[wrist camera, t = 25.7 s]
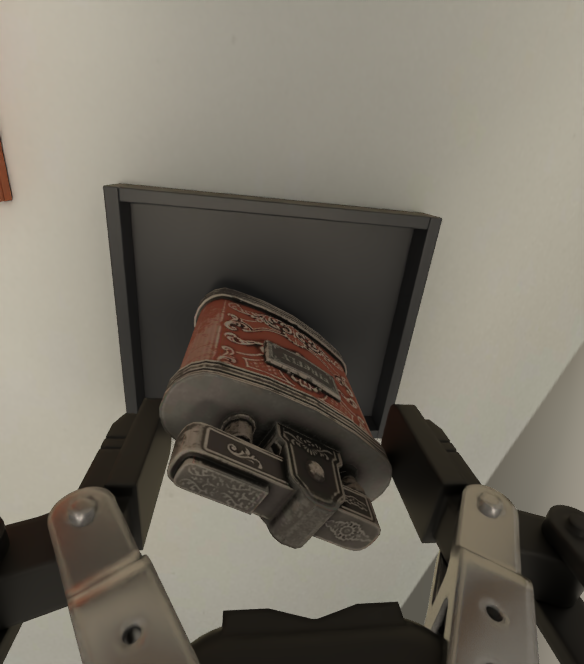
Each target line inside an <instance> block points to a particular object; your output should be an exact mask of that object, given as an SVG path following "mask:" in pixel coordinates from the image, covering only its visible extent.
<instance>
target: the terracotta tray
mask: <svg viewBox="0 0 584 664" xmlns="http://www.w3.org/2000/svg"><path fill="white" fill-rule="evenodd" d="M9 200H12V196H11V191H10V186H9V181H8V176H7V171H6V166H5V162H4V157H3V152H2V147H1V142H0V202H1V201H9Z"/></svg>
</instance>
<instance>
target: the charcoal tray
mask: <svg viewBox="0 0 584 664" xmlns="http://www.w3.org/2000/svg"><path fill="white" fill-rule="evenodd" d="M103 190H104V200H105V209H106V219H107V228H108V238H109V248H110V257H111V267H112V277H113V286H114V296H115V306H116V315H117V325H118V334H119V344H120V354H121V363H122V373H123V383H124V392H125V402H126V412H127V413H137V412H138V410H139V408H140V406H141V404H142V402H143V400H144V398H163V396H164V394H165V391H166V389H167V386H168V384H169V381H170V379H171V378H172V377H173V376H174V375H175V374H176V372H177V371H178V370H179V369H180V367H181V364H182V362H183V359H184V356H185V353H186V351H187V348H188V345H189V342H190V340H191V337H192V334H193V331H194V329H195V327H194V317H195V314H196V312H197V309H198V307H199V304H200V302H201V300H202V299H203V298H204V297H205V296H206V295H207V294H208V293H210V292H212V291H213V290H215V289H220V288H228V289H233V290H236V291H239V292H241V293H244V294H247V295H249V296H252V297H255V298H258V299H260V300H263V301H265V302H267V303H269V304H271V305H273V306H275V307H277V308H279V309H281V310H283V311H285V312H287V313H289V314H291V315H293V316H294V317H296V318H297V319H298V320H300V321H301V322H303V323H304V324H306V325H307V326H308V327H310V328H311V329H313V330H314V331H316V332H317V333H318V334H320V335H321V336H322V337H323V338H324V339H325V340H326V341H327V342H328V343H329V344H331V345H332V346H333V347H334V348H335V349H336V350H337V351H338V352H339V353H340V355H341V356H342V358H343V360H344V362H345V365H346V369H347V375H346V377H347V379H348V381H349V384H350V386H351V388H352V391H353V393H354V395H355V398H356V400H357V402H358V405H359V407H360V409H361V411H362V414H363V416H364V418H365V421H366V423H367V425H368V428H369V430H370V432H371V435H372V437H373V438H382V436H383V432H384V428H385V424H386V420H387V416H388V412H389V409H390V407H391V405H393V404H395V400H396V397H397V393H398V389H399V385H400V381H401V377H402V373H403V369H404V365H405V362H406V358H407V354H408V350H409V346H410V342H411V338H412V334H413V330H414V327H415V323H416V319H417V315H418V311H419V307H420V303H421V299H422V295H423V292H424V288H425V284H426V280H427V276H428V272H429V268H430V264H431V260H432V256H433V253H434V249H435V245H436V241H437V237H438V233H439V229H440V225H441V221H442V218H440V217H436V216H432V215H429V214H425V213H418V212H408V211H398V210H388V209H377V208H367V207H357V206H347V205H336V204H326V203H316V202H306V201H295V200H285V199H275V198H265V197H255V196H244V195H234V194H224V193H214V192H203V191H193V190H183V189H173V188H162V187H152V186H142V185H132V184H121V183H119V184H112V185H104V186H103Z"/></svg>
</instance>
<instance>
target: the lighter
mask: <svg viewBox="0 0 584 664" xmlns="http://www.w3.org/2000/svg"><path fill="white" fill-rule="evenodd" d="M194 327H195V329H194V331H193V334H192V337H191V340H190V342H189V345H188V348H187V351H186V353H185V356H184V359H183V362H182V364H181V367H180V369H179V370H178V371H177V372H176V374H175V375H174V376H173V377H172V378H171V379H170V381H169V384H168V386H167V389H166V391H165V394H164V396H163V399H162V401H161V404H160V406H159V410H160V417H161V423H162V426H163V428H164V430H165V431H166V432H167V433H168V434H169V435H170V436H171V437H172V438H173V439H175V440H176V442H175V445H174V449H173V452H172V456H171V459H170V463H169V466H168V470H167V474H168V477H169V478H170V480H171V481H172V482H174V484H175V485H176V486H178V487H180V488H182V489H184V490H187V491H189V492H192V493H195V494H197V495H200V496H203V497H205V498H208V499H211V500H213V501H216V502H218V503H221V504H224V505H226V506H229V507H232V508H234V509H237V510H240V511H242V512H245V513H248V514H250V515H251V514H252V513H253V514H256V515H259V516H260V518H261V519H262V520H263V521H264V522H265V523H266V525H267V527H268V529H269V532H270V533H271V534H272V536H273V537H274V538H275V539H276V540H277V541H278V542H280V543H281V544H283V545H286V546H289V547H292V548H294V549H296V548H301V547H302V546H303V545H304V544H305V543H306V542H307V541H308V540H309V539H310V538H311V537H312V536H314V537H316V538H319V539H322V540H324V541H327V542H330V543H332V544H335V545H337V546H340V547H343V548H345V549H349V550H353V551H359V550H362V549H365V548H367V547H368V546H369V545H371V544H372V543H373V542H374V541H375V540H376V539H377V538H378V536H379V535H380V531H381V529H380V527H379V524H378V521H377V518H376V515H375V512H374V509H373V506H372V503H371V502H372V501H374V500H375V499H376V498H378V497H379V496H380V495H381V494H382V493H383V492H384V491H385V489H386V488H387V487H388V486H389V484H390V481H391V478H392V467H391V464H390V462H389V459H388V457H387V455H386V453H385V451H384V449H383V447H382V446H381V445H380V443H379V442H377V441H376V440H375V439H374V438H373V437H372V435H371V432H370V430H369V428H368V425H367V423H366V421H365V418H364V416H363V414H362V411H361V409H360V407H359V405H358V402H357V400H356V398H355V395H354V393H353V391H352V388H351V386H350V384H349V381H348V379H347V377H346V375H347V369H346V365H345V362H344V360H343V358H342V356H341V355H340V353H339V352H338V351H337V350H336V349H335V348H334V347H333V346H332V345H331V344H329V343H328V342H327V341H326V340H325V339H324V338H323V337H322V336H321V335H320V334H318V333H317V332H316V331H314V330H313V329H311V328H310V327H308V326H307V325H306V324H304V323H303V322H301V321H300V320H298V319H297V318H296V317H294V316H293V315H291V314H289V313H287V312H285V311H283V310H281V309H279V308H277V307H275V306H273V305H271V304H269V303H267V302H265V301H263V300H260V299H258V298H255V297H252V296H249V295H247V294H244V293H241V292H239V291H236V290H233V289H228V288H220V289H215V290H213V291H212V292H210V293H208V294H207V295H206V296H205V297H204V298H203V299H202V300H201V302H200V304H199V307H198V309H197V312H196V314H195V317H194Z"/></svg>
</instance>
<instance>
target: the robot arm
mask: <svg viewBox="0 0 584 664" xmlns="http://www.w3.org/2000/svg"><path fill="white" fill-rule="evenodd" d="M162 399H163V398H144V400H143V402H142V404H141V406H140V408H139V410H138V412H137V413H125V414H124V415H123V416H122V417H120V418H119V419H118V420H117V421H116V422H114V423H113V425H112V426H111V428H110V430H109V432H108V434H107V436H106V439H105V440H104V441H103V443H102V445H101V449H99V451H98V453H97V455H96V456H95V458H94V460H93V462H92V464H91V466H90V468H89V470H88V471H87V473H86V475H85V477H84V479H83V481H82V483H81V485H80V486H79V488H78V490H76V491H74V492H71V493H69V494H68V495H66V496H65V497H63V498H62V499H61V500H59V501H58V502H57V503H56V504H55V505H54V507H53V508H52V510H51V511H50V513H47V514H45V515H42V516H39V517H36V518H32V519H28V520H24V521H21V522H17V523H13V524H9V525H6V526H5V524H4V521H3V520H2V518H1V517H0V664H3V662H4V660H5V658H6V656H7V654H8V652H9V650H10V647H11V645H12V643H13V641H14V639H15V637H16V635H17V633H18V631H19V629H20V627H21V625H22V623H23V622H26V621H28V620H31V619H34V618H37V617H39V616H42V615H45V614H48V613H50V612H53V611H56V610H59V609H61V608H64V607H67V606H68V609H69V613H70V617H71V621H72V625H73V628H74V632H75V636H76V640H77V644H78V648H79V652H80V656H81V659H82V663H83V664H539V654H538V642H537V630H536V625H537V626H538V628H539V629H540V631H541V633H542V634H543V636H544V638H545V639H546V641H547V643H548V644H549V646H550V647H551V649H552V651H553V652H554V654H555V656H556V657H557V659H558V660H559V662H560V664H584V602H583V600H582V599H581V598H580V595H581V594H582V592H583V591H584V512H582V511H579V510H577V509H575V508H572V507H569V506H564V505H556V506H553V507H551V508H550V510H549V512H548V513H547V515H546V517H543V516H539V515H535V514H531V513H528V512H524V511H519V510H516V508H515V506H514V505H513V504H512V502H511V501H510V500H509V499H508V498H507V497H506V496H504V495H503V494H502V493H500V492H499V491H497V490H495V489H493V488H491V487H488V486H485V485H481V483H480V482H479V481H478V479H477V478H476V476H475V475H474V474H473V472H472V471H471V469H470V468H469V467H468V465H467V464H466V463H465V461H464V460H463V458H462V457H461V456H460V454H459V453H458V452H456V449H455V447H454V446H453V444H452V443H450V440H449V439H448V437H447V436H446V435H445V433H444V432H443V430H442V429H441V428H439V427H438V426H437V425H435V424H434V423H433V422H432V421H430V420H426V419H424V418H423V416H422V415H421V413H420V412H419V410H418V409H417V407H416V406H415V405H400V404H393V405H391V407H390V409H389V412H388V416H387V420H386V424H385V428H384V432H383V436H382V441H381V446H382V447H383V449H384V451H385V453H386V455H387V457H388V459H389V462H390V464H391V467H392V478H393V480H394V482H395V484H396V487H397V489H398V491H399V493H400V495H401V498H402V500H403V502H404V504H405V507H406V509H407V511H408V513H409V515H410V518H411V520H412V522H413V524H414V527H415V529H416V531H417V533H418V535H419V538H420V540H421V542H422V543H437V545H438V547H439V549H440V550H439V553H438V555H437V559H436V565H435V570H434V576H433V582H432V587H431V593H430V599H429V605H428V610H427V615H426V619H425V623H424V626H423V625H421V624H419V623H416V622H414V621H411V620H409V619H405V618H403V616H402V613H401V610H400V607H399V604H398V602H384V603H365V604H356V605H353V606H350V607H348V608H345V609H342V610H340V611H337V612H335V613H332V614H329V615H327V616H324V617H321V618H318V619H310V618H306V617H301V616H297V615H293V614H289V613H285V612H281V611H277V610H272V609H249V610H229V611H223V623H222V627H220V628H217V629H214V630H212V631H210V632H208V633H206V634H204V635H202V636H201V637H199V638H198V639H196V640H195V641H193V642H192V643H190V641H189V639H188V637H187V635H186V633H185V631H184V629H183V627H182V625H181V622H180V620H179V618H178V616H177V614H176V612H175V610H174V608H173V606H172V604H171V602H170V599H169V597H168V595H167V593H166V591H165V589H164V587H163V585H162V583H161V581H160V579H159V576H158V574H157V572H156V570H155V568H154V566H153V564H152V562H151V560H150V559H149V557H148V556H147V555H143V556H142V555H141V553H140V551H139V550H143V547H144V544H145V540H146V537H147V533H148V530H149V526H150V523H151V519H152V515H153V512H154V508H155V505H156V501H157V498H158V494H159V491H160V487H161V483H162V480H163V476H164V473H165V469H166V466H167V462H168V459H169V455H170V449H171V436H170V435H169V434H168V433H167V432H166V431H165V430H164V428H163V426H162V423H161V417H160V410H159V406H160V404H161V401H162Z"/></svg>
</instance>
